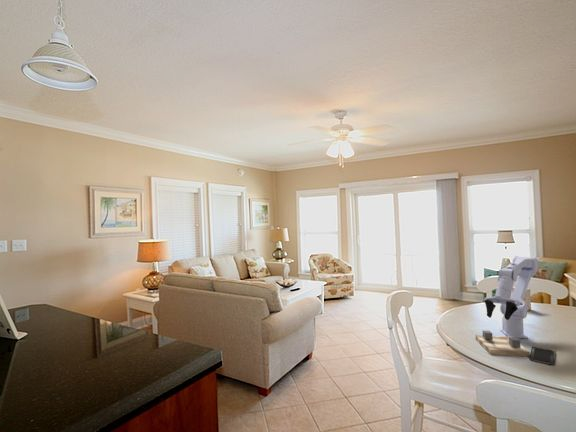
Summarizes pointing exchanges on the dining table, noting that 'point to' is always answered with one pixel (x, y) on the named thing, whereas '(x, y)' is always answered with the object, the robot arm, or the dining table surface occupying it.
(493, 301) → the robot arm
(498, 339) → the switch board
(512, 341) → the switch tab
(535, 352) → the phone
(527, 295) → the supplement box
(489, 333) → the switch tab
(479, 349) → the dining table surface
